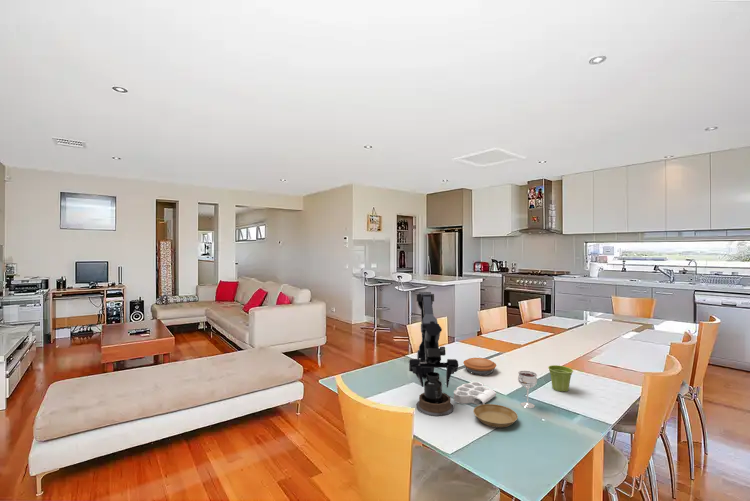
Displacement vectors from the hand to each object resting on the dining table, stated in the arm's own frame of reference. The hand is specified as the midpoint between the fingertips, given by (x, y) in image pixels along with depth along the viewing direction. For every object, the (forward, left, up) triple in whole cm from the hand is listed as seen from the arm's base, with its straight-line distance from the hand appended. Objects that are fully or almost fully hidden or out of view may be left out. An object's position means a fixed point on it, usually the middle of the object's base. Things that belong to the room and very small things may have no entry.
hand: (435, 386), depth 135 cm
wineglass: (-35, +10, -9) cm, 37 cm away
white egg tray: (-20, -4, -9) cm, 22 cm away
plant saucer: (-16, +15, -9) cm, 23 cm away
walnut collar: (-1, -1, -8) cm, 8 cm away
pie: (-41, -28, -9) cm, 50 cm away
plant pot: (-59, +3, -9) cm, 59 cm away
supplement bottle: (0, -2, -8) cm, 8 cm away
